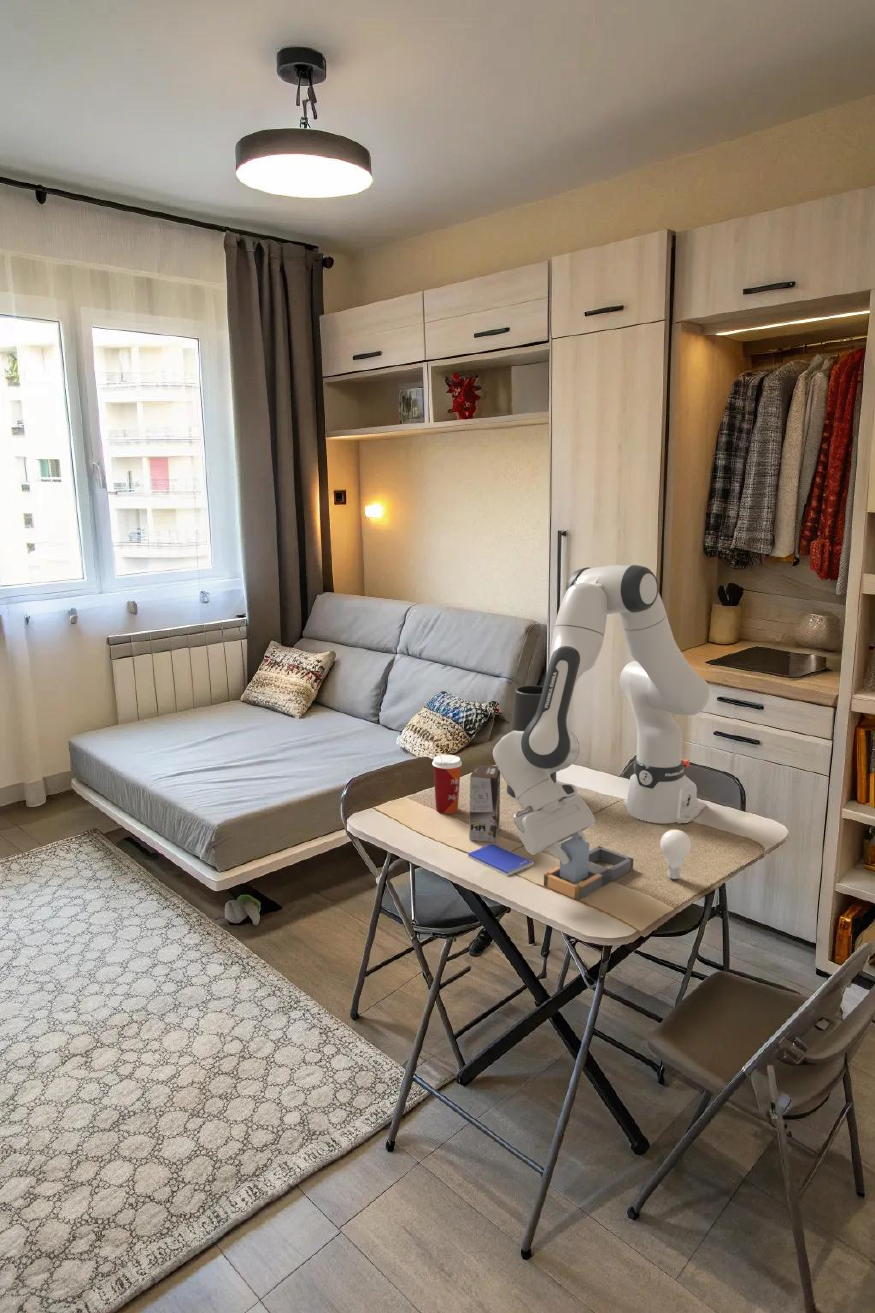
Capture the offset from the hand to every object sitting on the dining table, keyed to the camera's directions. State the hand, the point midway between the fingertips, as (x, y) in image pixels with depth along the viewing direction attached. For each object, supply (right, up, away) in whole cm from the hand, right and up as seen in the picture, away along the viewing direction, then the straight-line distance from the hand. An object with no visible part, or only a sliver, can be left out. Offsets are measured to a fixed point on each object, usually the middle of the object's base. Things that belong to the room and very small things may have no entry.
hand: (577, 858), depth 174 cm
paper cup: (-27, +2, +42) cm, 50 cm away
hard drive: (-15, -5, +13) cm, 21 cm away
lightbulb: (+22, -6, +5) cm, 23 cm away
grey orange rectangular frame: (+4, -5, +6) cm, 9 cm away
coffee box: (-18, -1, +28) cm, 33 cm away
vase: (-3, +5, +55) cm, 55 cm away
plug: (0, -4, +1) cm, 4 cm away
